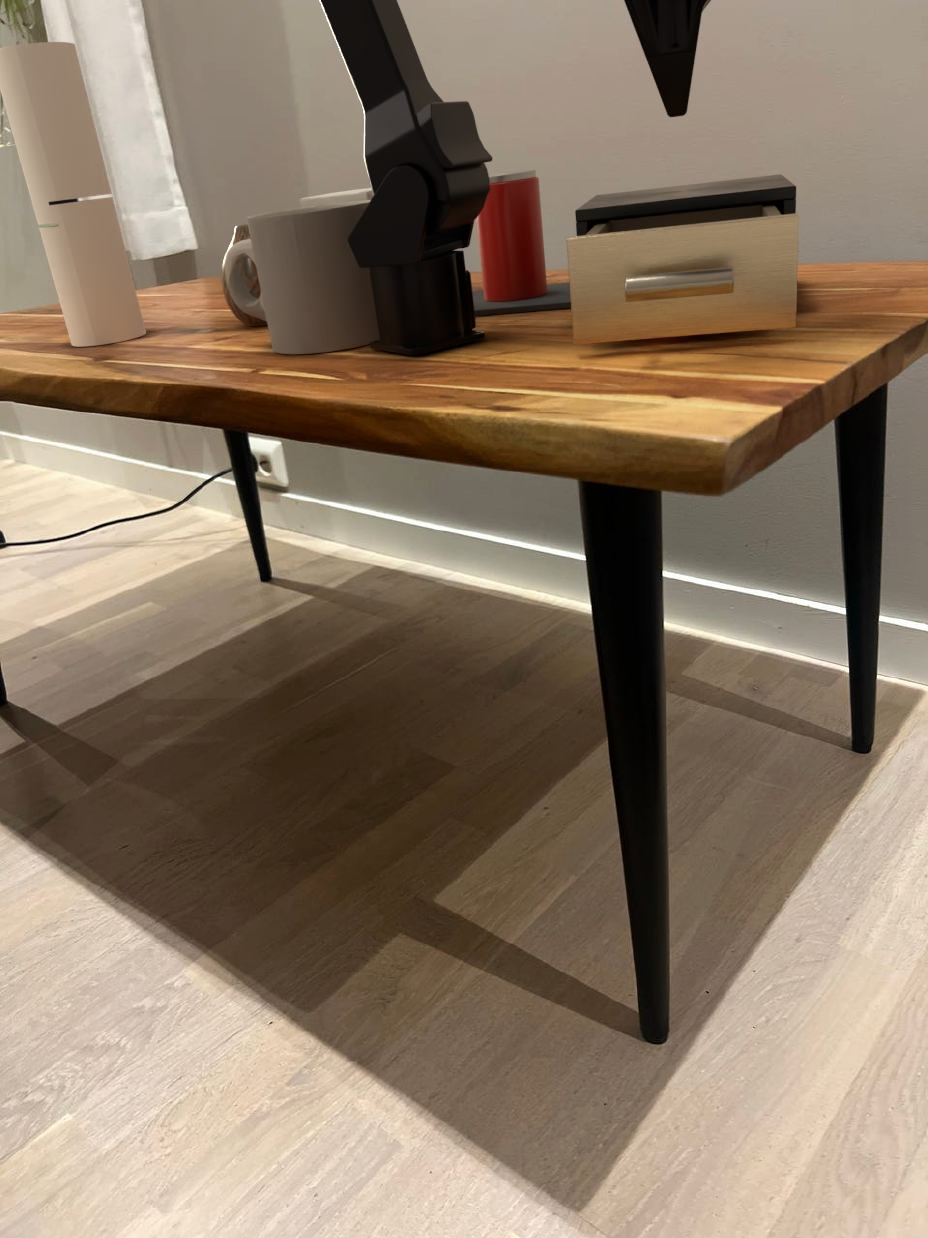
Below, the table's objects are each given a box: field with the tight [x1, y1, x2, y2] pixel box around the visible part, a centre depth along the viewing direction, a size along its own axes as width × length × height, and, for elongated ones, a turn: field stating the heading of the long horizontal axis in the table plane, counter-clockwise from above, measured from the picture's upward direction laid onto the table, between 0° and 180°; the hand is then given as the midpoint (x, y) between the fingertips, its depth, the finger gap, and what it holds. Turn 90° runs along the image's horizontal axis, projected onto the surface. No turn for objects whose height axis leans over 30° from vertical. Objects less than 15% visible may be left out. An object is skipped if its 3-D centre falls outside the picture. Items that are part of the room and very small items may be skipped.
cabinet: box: [574, 174, 797, 236], centre depth 75 cm, size 15×15×8 cm
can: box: [475, 169, 548, 302], centre depth 86 cm, size 6×6×10 cm
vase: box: [220, 223, 268, 327], centre depth 93 cm, size 7×7×9 cm
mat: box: [472, 281, 571, 317], centre depth 88 cm, size 12×12×1 cm
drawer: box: [566, 202, 800, 345], centre depth 64 cm, size 18×13×6 cm
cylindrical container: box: [0, 41, 147, 348], centre depth 92 cm, size 7×7×25 cm
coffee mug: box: [224, 200, 380, 355], centre depth 79 cm, size 13×10×10 cm
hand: (677, 116), depth 60 cm, fingers closed
